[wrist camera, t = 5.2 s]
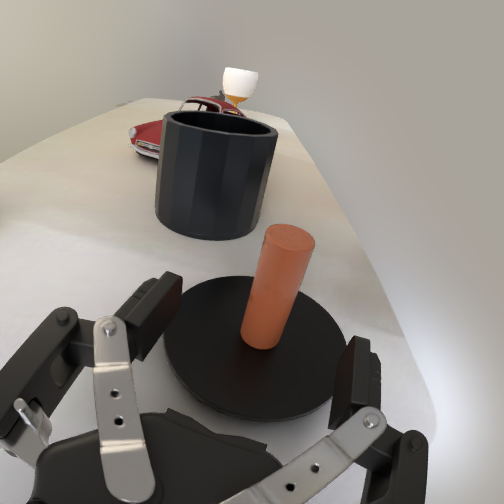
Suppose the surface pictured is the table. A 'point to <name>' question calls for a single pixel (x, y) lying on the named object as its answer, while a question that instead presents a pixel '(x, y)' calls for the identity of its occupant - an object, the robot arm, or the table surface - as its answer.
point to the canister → (212, 173)
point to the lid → (258, 337)
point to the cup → (239, 84)
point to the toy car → (150, 133)
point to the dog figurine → (219, 97)
